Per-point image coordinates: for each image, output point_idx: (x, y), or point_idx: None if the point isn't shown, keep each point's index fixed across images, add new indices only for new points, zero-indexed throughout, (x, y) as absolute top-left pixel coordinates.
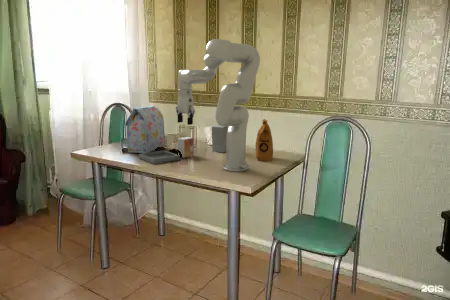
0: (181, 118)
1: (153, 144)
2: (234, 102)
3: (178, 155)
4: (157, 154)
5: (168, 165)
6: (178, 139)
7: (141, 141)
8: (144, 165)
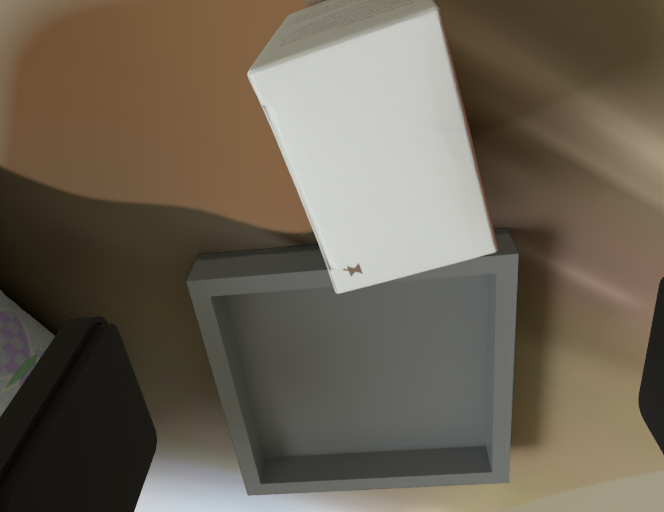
0: (80, 450)
1: (7, 353)
2: None
3: (517, 267)
4: (231, 339)
5: (613, 385)
6: (366, 282)
7: None
8: (486, 498)
